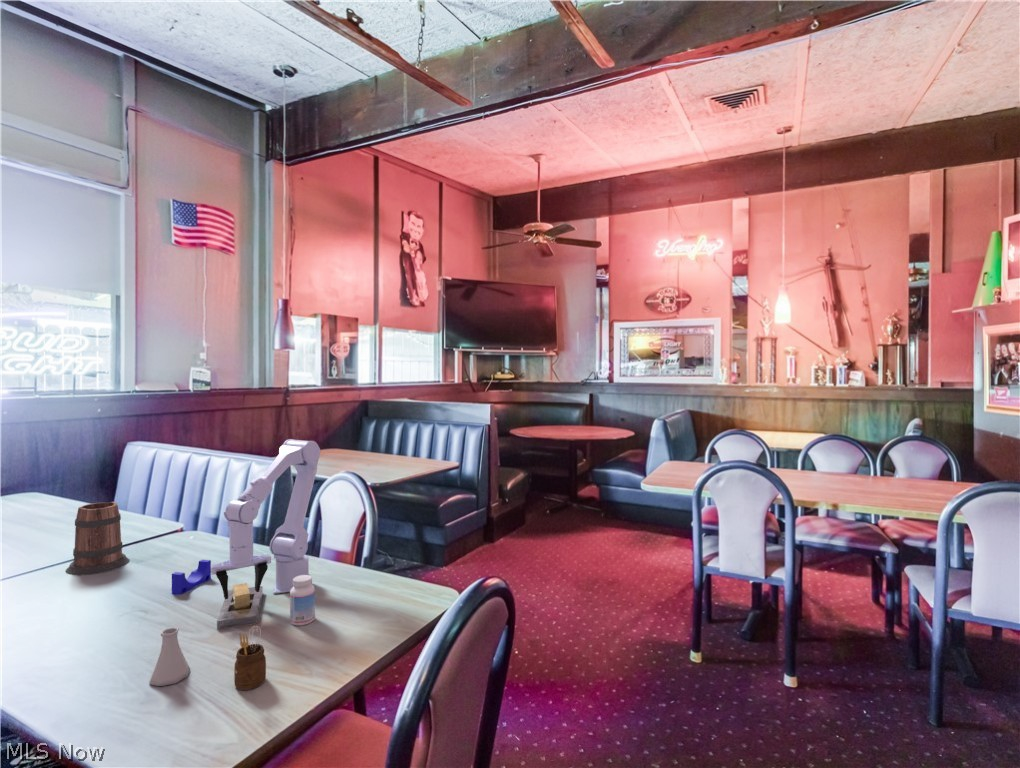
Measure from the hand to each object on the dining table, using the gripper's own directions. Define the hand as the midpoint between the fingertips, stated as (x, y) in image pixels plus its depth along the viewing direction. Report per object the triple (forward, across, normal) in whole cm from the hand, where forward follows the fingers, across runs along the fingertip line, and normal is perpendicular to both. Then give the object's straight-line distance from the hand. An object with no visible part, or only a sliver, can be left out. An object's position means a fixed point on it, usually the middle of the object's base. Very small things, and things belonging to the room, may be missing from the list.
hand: (241, 594), depth 145 cm
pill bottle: (+4, -11, +16) cm, 20 cm away
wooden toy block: (+4, 0, 0) cm, 4 cm away
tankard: (+5, +33, -66) cm, 73 cm away
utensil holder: (+4, +6, +38) cm, 39 cm away
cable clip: (+5, +9, -27) cm, 29 cm away
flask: (+4, +19, +26) cm, 32 cm away
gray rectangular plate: (+4, 0, 0) cm, 4 cm away
